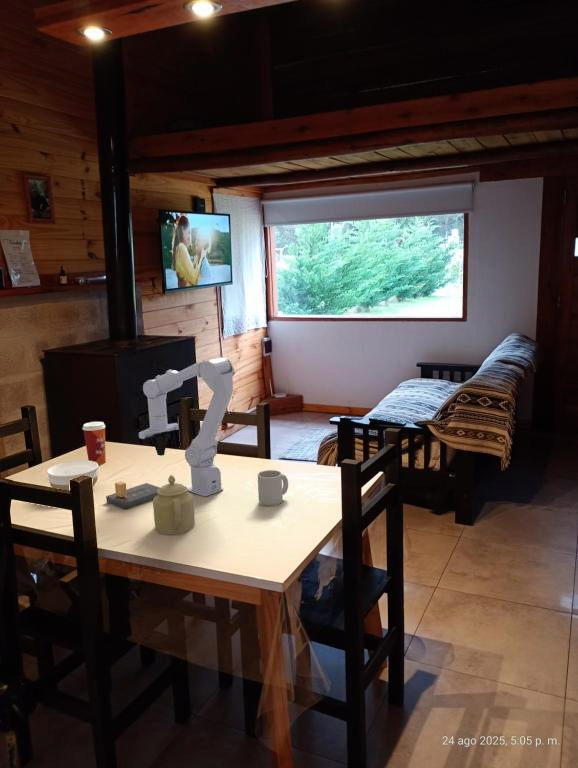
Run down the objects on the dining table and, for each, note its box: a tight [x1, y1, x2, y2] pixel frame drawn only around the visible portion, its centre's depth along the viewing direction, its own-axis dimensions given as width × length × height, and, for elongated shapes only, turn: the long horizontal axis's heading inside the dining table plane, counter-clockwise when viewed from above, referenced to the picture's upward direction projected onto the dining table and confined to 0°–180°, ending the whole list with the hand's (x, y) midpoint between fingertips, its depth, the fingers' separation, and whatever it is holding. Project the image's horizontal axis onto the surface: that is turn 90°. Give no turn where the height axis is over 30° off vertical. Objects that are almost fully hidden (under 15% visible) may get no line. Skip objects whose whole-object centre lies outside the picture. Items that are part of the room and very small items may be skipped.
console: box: [105, 482, 161, 511], centre depth 199 cm, size 10×15×2 cm, turn 138°
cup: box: [257, 469, 289, 507], centre depth 193 cm, size 7×10×9 cm
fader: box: [114, 480, 127, 497], centre depth 196 cm, size 3×2×4 cm, turn 48°
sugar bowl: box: [152, 474, 196, 535], centre depth 175 cm, size 15×11×15 cm
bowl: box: [46, 459, 99, 491], centre depth 208 cm, size 16×16×8 cm
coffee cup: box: [81, 421, 107, 466], centre depth 237 cm, size 8×8×15 cm
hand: (160, 454), depth 211 cm, fingers closed
